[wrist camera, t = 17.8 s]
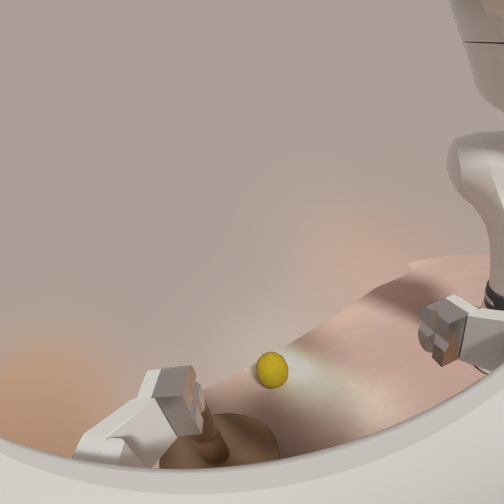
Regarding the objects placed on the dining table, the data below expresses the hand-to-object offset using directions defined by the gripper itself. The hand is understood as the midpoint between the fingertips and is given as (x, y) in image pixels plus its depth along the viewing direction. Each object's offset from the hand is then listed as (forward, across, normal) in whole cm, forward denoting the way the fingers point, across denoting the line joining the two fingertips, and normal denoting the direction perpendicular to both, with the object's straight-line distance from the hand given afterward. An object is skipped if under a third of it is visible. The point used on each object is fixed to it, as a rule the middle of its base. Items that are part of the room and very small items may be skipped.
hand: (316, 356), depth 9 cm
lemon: (+32, +2, +30) cm, 44 cm away
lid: (+15, +11, +26) cm, 32 cm away
